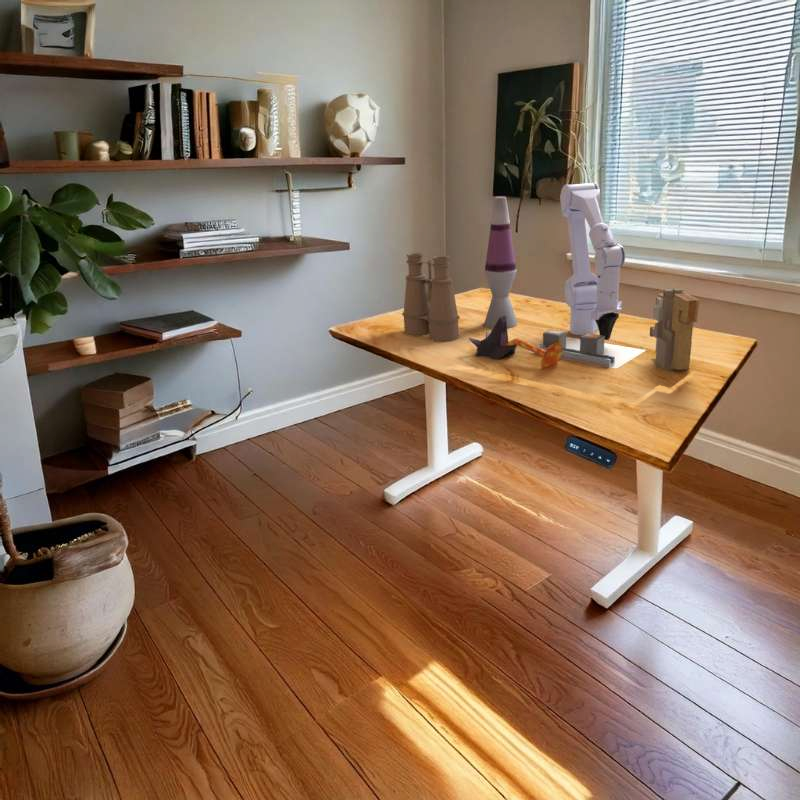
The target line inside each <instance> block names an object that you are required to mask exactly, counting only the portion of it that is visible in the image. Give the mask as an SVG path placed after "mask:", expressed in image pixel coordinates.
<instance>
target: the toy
mask: <svg viewBox="0 0 800 800" xmlns="http://www.w3.org/2000/svg"><path fill="white" fill-rule="evenodd" d="M683 291H684V290H683V289H682V288H672V289H671V288H666V289H663V291H662V292H663V293H658V295H657V297H656V296H655V305H653V311H652V318H653V319H655V320H657V322H656V323H654V326H650V327H649V337H652V338H656V339H655V350H654V352H655V353H656V354H655V358H650V360H651V361H652V362H653V363H654V364H656V365H657V366H658V367H659V368H661V369H662V370H663V371H664V370H665V371H666V370H667V371H668V370H688V369H690V363H691V362H690V361H691V353H692V343H693V341H692V340H693V331H694V330H693V329H694V323H698V315H699V307H700V300H699V299H698V298H696V297H694V296H693V295H690V294H689V293H687V292H686V293H684V292H683Z"/></svg>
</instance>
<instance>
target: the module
mask: <svg viewBox="0 0 800 800" xmlns="http://www.w3.org/2000/svg"><path fill="white" fill-rule="evenodd" d="M579 339H580V351H586V352H591V353H597V354H604V343H605V341H606V340H605V336H603V335H600V334H596V333H593V334H591V333H587V334H585V335H580V337H579Z"/></svg>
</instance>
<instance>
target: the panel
mask: <svg viewBox="0 0 800 800" xmlns="http://www.w3.org/2000/svg"><path fill="white" fill-rule="evenodd" d="M566 348H569V349H575V350H580V338H575V337H569V336H566ZM646 351H647V349H641V348H635V347H630V346H629V347H628V346H623V345H618V344H611V343H606V342H604V354H603V355H608V356H614V357H615V364H614V365H612V366H610V367H609V368H611V369H616V370H617V369H619V368H621V367H622V366H623V365H625V364H627V363H628V362H630V361H631V360H633V359H635V358H637V357H638V356H641V354H643V353H644V352H646ZM529 353H532V354H535V353H534V352H531V351H529ZM561 359H563V358H561ZM567 360H569V359H567ZM569 361H570V360H569ZM572 361H574V360H572ZM574 362H575V361H574ZM577 362H578V363H580V362H579V361H577ZM582 363H584V362H582ZM588 364H589V365H591V364H590V363H588ZM593 365H595V364H593ZM595 366H596V365H595ZM598 366H599V367H601V366H600V365H598ZM603 367H605V366H603Z"/></svg>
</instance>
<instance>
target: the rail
mask: <svg viewBox="0 0 800 800" xmlns="http://www.w3.org/2000/svg"><path fill="white" fill-rule="evenodd" d="M536 346H537V347H539V348H541V349H544V350H547V349H548V347H549V346H550V345H547V344H543V343H539V345H536ZM562 351H563V353H562V355H561V357H560V359H562V358H563V359H564V360H568V359H569V361H573V360H574V362H578V361H579V362H578V363H583V362H584V363H585V364H589V363H590V364H589V365H594V364H595V366H599V365H600V366H599V367H604V366H605V367H606V368H610V366H612V365H614V364H615V357H614V356H608V355H603V354H597V353H591V352H586V351H580V350H575V349H569V348H563V347H562Z"/></svg>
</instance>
